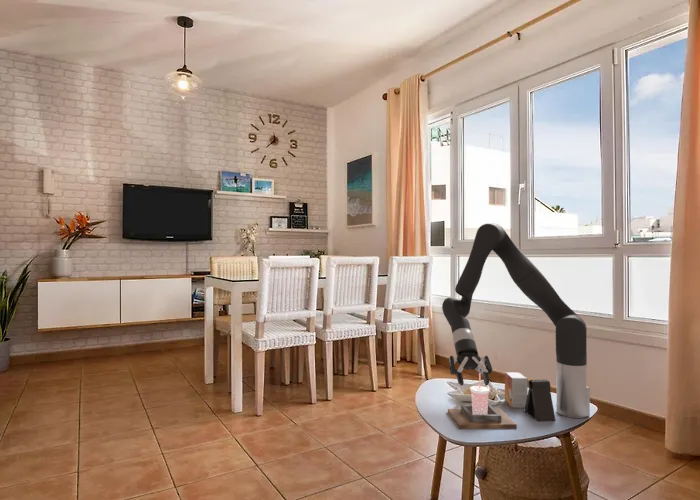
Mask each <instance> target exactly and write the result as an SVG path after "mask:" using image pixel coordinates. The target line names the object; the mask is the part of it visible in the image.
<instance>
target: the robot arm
mask: <svg viewBox="0 0 700 500" xmlns="http://www.w3.org/2000/svg"><path fill="white" fill-rule="evenodd" d="M472 244H473V245H472V248H471V250H470V253H469V256H468V259H467V262H466V264H465V266H464V267H463V270H462V273H461V275H460V277H459V279H458V281H457V283H456V285H455V287H454V291H455V293H456V294H457V295H459V296H460V297H461V299H457V298H454V297H446V298H445V299H444V300H443V301H442V306H441V308H442V313H443V316H444V317H445V319H446V321H447V322H448V325H449V326H450V328H451V333H452V340H453V341H452V342H453V346H454V349H455V354H456V357H454V356H453V355H450V356H449V359H448V364H449V365H448V367H449V372H450V373H449V374H451V375H456V378H457V383H458V384H459V386H463V385H464V383H465V382H464V378H463V373H462V372H463V370H464V369H465V371H468V370H471V371H475V370H476V371H477V372H478V373H481V375H482V378H483V379H482V380H483V383H484V386H489V383H490V381H491V380H490V376H489V375H491V374H492V372H493V367H492V364H491V362H490V358H489V356H488V355H485V356H483V357H482V356H481V357H480V355H479V352H478V348H477V345H476V340H475V337H474V334H473V332H472V328H471V325H470V322H469V319H468V318H466V317H467V316H468V315H469V314H470V310H471V306H472V299H473V295H474V294H475V291H476V288H477V287H478V284H479V283H480V280H481V277H482V273H483V270H484V267H485V263H486V261H487V259H488V257H489V256H490V254H491V252H492V251H493V252H494V253H495V254H496V255H497V257H499V259H500V260H501V261H502V263H503V265H504V266H505V268H506V270H507V272H508V274H509V276H510V278H511V280H512V281H513V282H514V284H515V285H516V287H518V289H520V291H521V292H522V293H523V295H524V296H526V297H527V298H528V299H529V300H530V301H531V302H533V304H534V305H536V306H537V307H539V308H540V309H541V310H542V311H543V312H544V313H545V314H546V316H547V317H548V318H549V319H550V321H551V322H552V323H553V325H554V326H555V358H556V359H555V360H556V361H555V362H556V365H555V366H556V376H555V377H556V379H555V380H556V405H555V406H556V412H557V414H559V415H561V416H565V417H568V418H573V419H581V418H582V419H584V418H586V417H590V415H591V413H590V411H591V410H590V408H591V405H590V402H591V401H590V394H591V393H590V387H589V386H587V385H588V384H587V382H588V379H587V377H588V372H587V370H588V369H587V368H588V367H587V366H588V365H587V364H588V362H587V361H588V360H587V358H588V357H587V353H588V352H587V331H588V330H587V329H588V328H587V327H588V326H587V324H586V322H585V321H584V319H583V318H582V317H580V316H579V314H577V313H576V312H575V311H574V310H573V309H571V307H569V306H568V305H567V304H566V303H565V301H564V300H563V299H562V298H561V297H560V296H559V294H558V292H557V291H556V290H555V288H554V287H553V286H552V284H551V283H550V282H549V280H548V279H547V278H546V277H545V276H544V275H543V273H542V271H540V270H539V269H538V268H537V266H535V264H534V263H533V262H532V261H531V260H530V259H529V258H528V257H527V256H526V254H524V253H523V252H522V251H521V250H520V249H519V248H518V247H517V245H516V244H515V243H514V242H513V240H512V239H511V237H510V236H509V234H508V232H507V231H506V229H504V227H503V226H502V225H500V224H498V223H494V222H493V223H492V222H491V223H489V222H488V223H484V224H482V225H480V226H479V227H478V228H477V231H476V233H475V237H474V240H473V243H472ZM481 362H482V363H481ZM456 363H457V364H459V366H458V368H456V366H455V364H456Z"/></svg>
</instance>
